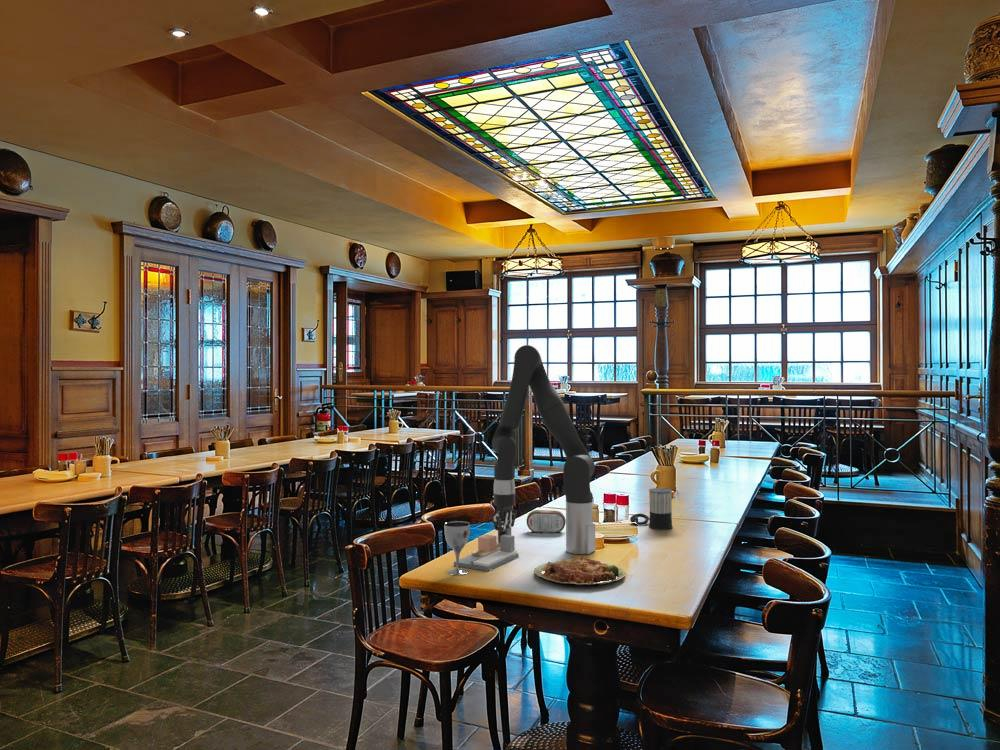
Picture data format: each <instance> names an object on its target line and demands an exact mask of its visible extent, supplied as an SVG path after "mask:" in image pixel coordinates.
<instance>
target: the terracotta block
mask: <svg viewBox="0 0 1000 750" xmlns="http://www.w3.org/2000/svg"><path fill="white" fill-rule="evenodd" d="M497 542H498V535H492V534H483V535H481V536H478V537H477V550H478V551H484V552H491V551H494V550H496V549H497Z"/></svg>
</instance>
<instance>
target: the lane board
mask: <svg viewBox="0 0 1000 750" xmlns="http://www.w3.org/2000/svg"><path fill="white" fill-rule="evenodd" d="M499 550H500V549H498V550H495V551H493V552H491V553H488V554H486V555H484V556H475V555H472V553H471V554H469V555H467V556H465V557H462V558H459V568H460V567H461V568H468V569H472V570H477V569H479V571H483V570H487V571H486V572H489V571H488V570H490V569H492V570H494V569H496V568H498V567H500V566H499V565H501V566H502V564H503V565H505V564H507V563H509V562H511V561H513V560H515V558H516V559H517V557H518V558H519V553H517V552H516V554H514V555H512V556H510V557H508V558H506V559H503V560H501V561H499V562H497V563H495V564H492V565H490V566H488V567H486V566H480V565H474V564H473V561H476V560H478V559H480V558H483V557H485V556H487V555H490V554H492V553H494V552H497V551H499ZM510 560H511V561H510ZM508 561H509V562H508ZM506 562H507V563H506ZM504 563H505V564H504ZM453 566H454V567H456V560H455V561H453ZM497 566H498V567H497ZM495 567H496V568H495ZM493 568H494V569H493ZM490 571H491V570H490Z"/></svg>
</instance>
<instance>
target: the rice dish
mask: <svg viewBox="0 0 1000 750" xmlns="http://www.w3.org/2000/svg"><path fill="white" fill-rule="evenodd" d="M542 571H545V573H544V574H542V573H541V572H542ZM533 573H534V574H535V575H536V576H538V577H541V578H542V579H545V580H547V581H550V582H554V583H558V584H565V585H570V584H573V585H574V584H575V585H576V586H582V585H583V586H584V585H587V586H589V585H598V584H600V585H607V584H610V583H612V582H615V581H618V580H621V579H623V578H624V577H625V576H626V572H625V570H623V569H622V568H620V567H618V566H616V565H615V564H608V563H603V562H601V561H600V560H595V559H592V558H587V557H583V556H581V557H574V558H572V559H565V558H562V559H561V561H558V560H557V561H555V562H553V561H552V562H550V561H548V562H546V563H542V564H540V565H538V566H536V567H534V570H533ZM614 576H617V577H618V578H617V579H616V578H615V577H614ZM615 579H616V580H615ZM609 580H613V581H610V582H603V583H596V582H600V581H609ZM606 583H607V584H606Z"/></svg>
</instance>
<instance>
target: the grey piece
mask: <svg viewBox="0 0 1000 750" xmlns="http://www.w3.org/2000/svg"><path fill="white" fill-rule="evenodd" d="M502 528H503V526H502ZM505 535H511V536H512V527H511V528H506V529H505ZM498 549H500V542H499V531H497V549H496V550H498ZM494 551H495V550H494ZM491 552H493V551H491ZM491 552H484V551H478V549H477V550H473V551H472V552H471V554H472V555H475V556H484V555H486V554H488V553H491Z"/></svg>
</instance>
